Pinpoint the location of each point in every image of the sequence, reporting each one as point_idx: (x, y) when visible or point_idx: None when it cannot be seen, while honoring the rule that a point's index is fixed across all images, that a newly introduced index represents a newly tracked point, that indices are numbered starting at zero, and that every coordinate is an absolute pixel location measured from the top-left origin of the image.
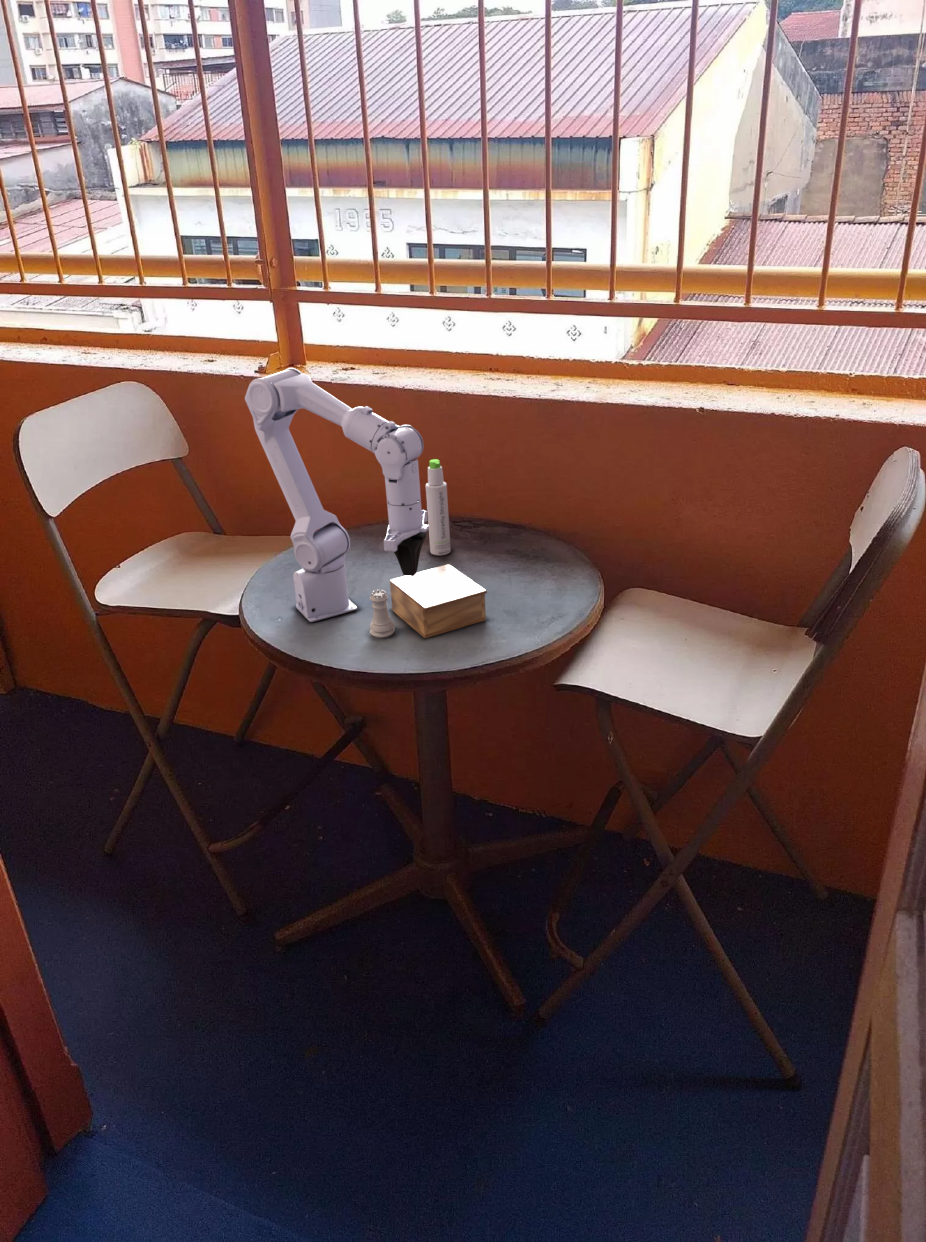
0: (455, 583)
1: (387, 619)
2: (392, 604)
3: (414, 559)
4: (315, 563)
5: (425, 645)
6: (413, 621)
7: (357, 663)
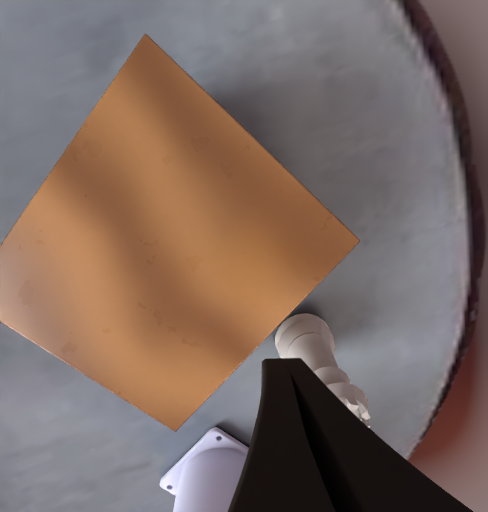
0: (126, 204)
1: (319, 342)
2: None
3: (382, 441)
4: None
5: None
6: None
7: (433, 329)
